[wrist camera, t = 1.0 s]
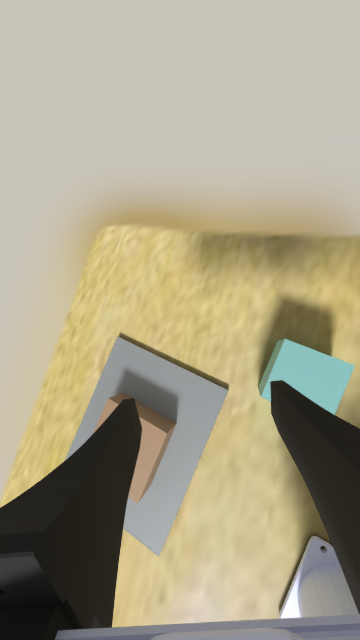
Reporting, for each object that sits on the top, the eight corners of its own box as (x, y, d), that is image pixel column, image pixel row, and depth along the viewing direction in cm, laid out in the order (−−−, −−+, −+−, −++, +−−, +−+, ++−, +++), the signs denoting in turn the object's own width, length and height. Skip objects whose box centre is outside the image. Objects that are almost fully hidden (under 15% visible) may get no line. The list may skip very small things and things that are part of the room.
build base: (228, 389, 24) (225, 396, 20) (160, 552, 23) (146, 586, 20) (119, 336, 28) (102, 334, 24) (61, 474, 28) (36, 491, 24)
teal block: (330, 362, 21) (354, 365, 17) (310, 411, 21) (328, 428, 17) (277, 341, 23) (285, 338, 18) (257, 387, 23) (260, 396, 18)
